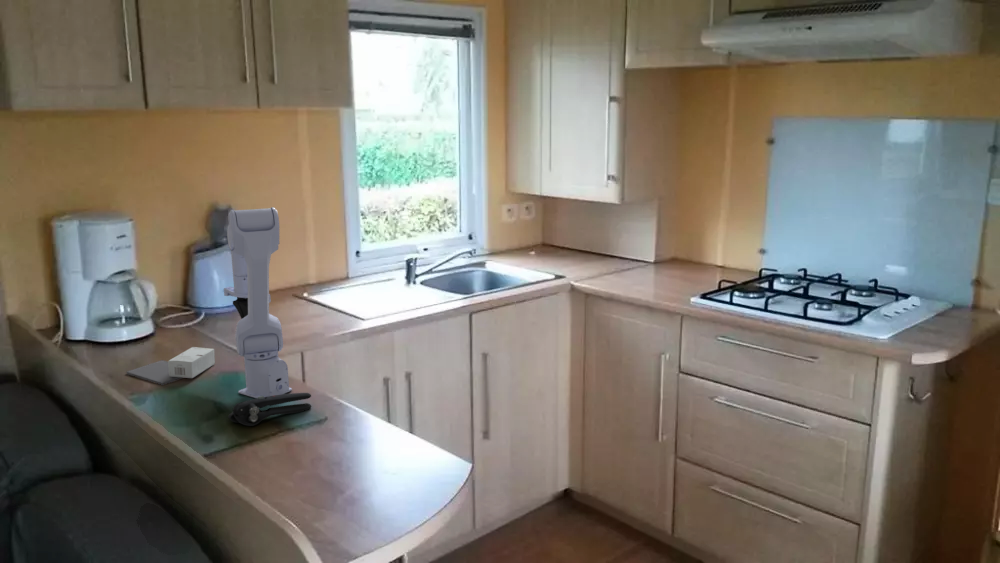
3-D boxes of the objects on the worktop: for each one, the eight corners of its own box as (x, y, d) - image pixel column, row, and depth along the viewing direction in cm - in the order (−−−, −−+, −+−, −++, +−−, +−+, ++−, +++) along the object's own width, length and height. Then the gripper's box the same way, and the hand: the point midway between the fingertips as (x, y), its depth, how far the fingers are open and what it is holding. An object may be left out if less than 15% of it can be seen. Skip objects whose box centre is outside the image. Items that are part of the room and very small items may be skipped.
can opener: (237, 434, 164) (235, 408, 162) (226, 422, 169) (224, 397, 168) (318, 413, 174) (317, 389, 172) (306, 403, 179) (304, 379, 178)
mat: (198, 372, 197) (198, 370, 197) (162, 385, 189) (162, 382, 189) (162, 362, 204) (162, 360, 204) (126, 374, 196) (126, 371, 196)
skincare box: (167, 360, 190) (191, 345, 202) (168, 378, 191) (191, 362, 203) (192, 362, 190) (214, 346, 202) (193, 380, 191) (215, 363, 203)
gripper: (278, 274, 195) (282, 327, 198) (238, 267, 202) (242, 318, 206) (256, 280, 189) (260, 335, 192) (215, 272, 196) (219, 325, 200)
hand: (249, 327), depth 199 cm, fingers closed
